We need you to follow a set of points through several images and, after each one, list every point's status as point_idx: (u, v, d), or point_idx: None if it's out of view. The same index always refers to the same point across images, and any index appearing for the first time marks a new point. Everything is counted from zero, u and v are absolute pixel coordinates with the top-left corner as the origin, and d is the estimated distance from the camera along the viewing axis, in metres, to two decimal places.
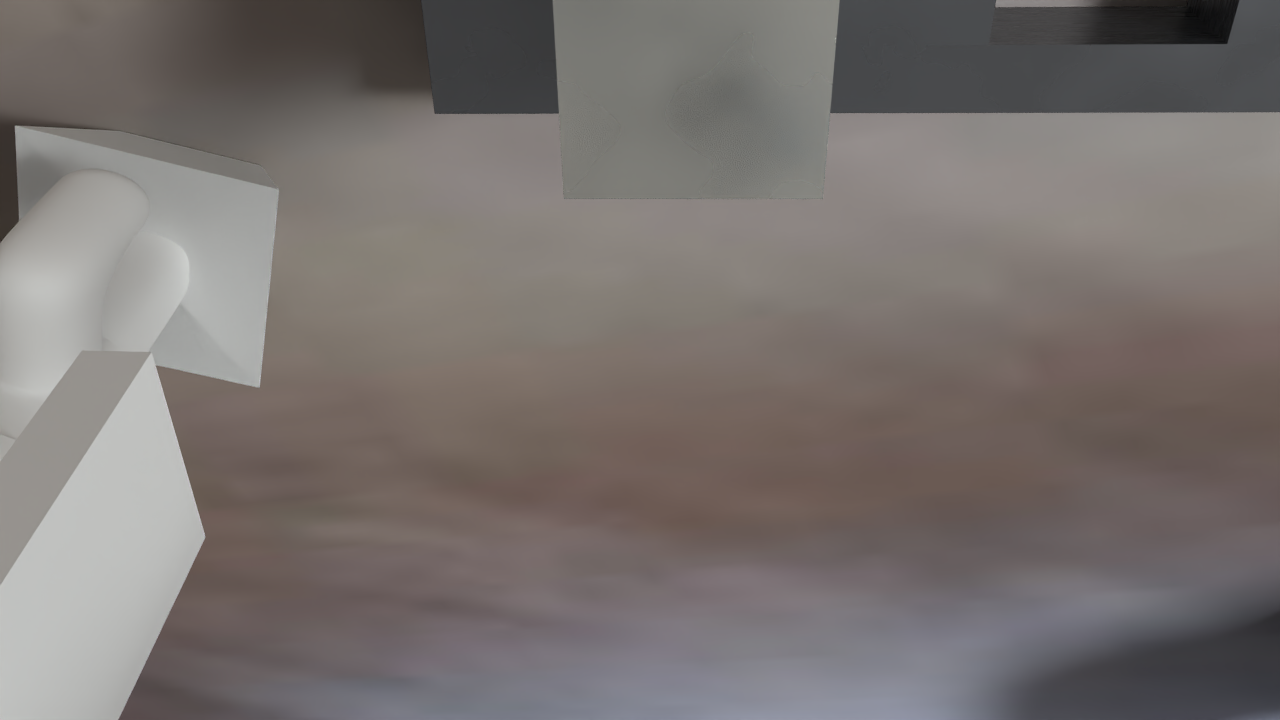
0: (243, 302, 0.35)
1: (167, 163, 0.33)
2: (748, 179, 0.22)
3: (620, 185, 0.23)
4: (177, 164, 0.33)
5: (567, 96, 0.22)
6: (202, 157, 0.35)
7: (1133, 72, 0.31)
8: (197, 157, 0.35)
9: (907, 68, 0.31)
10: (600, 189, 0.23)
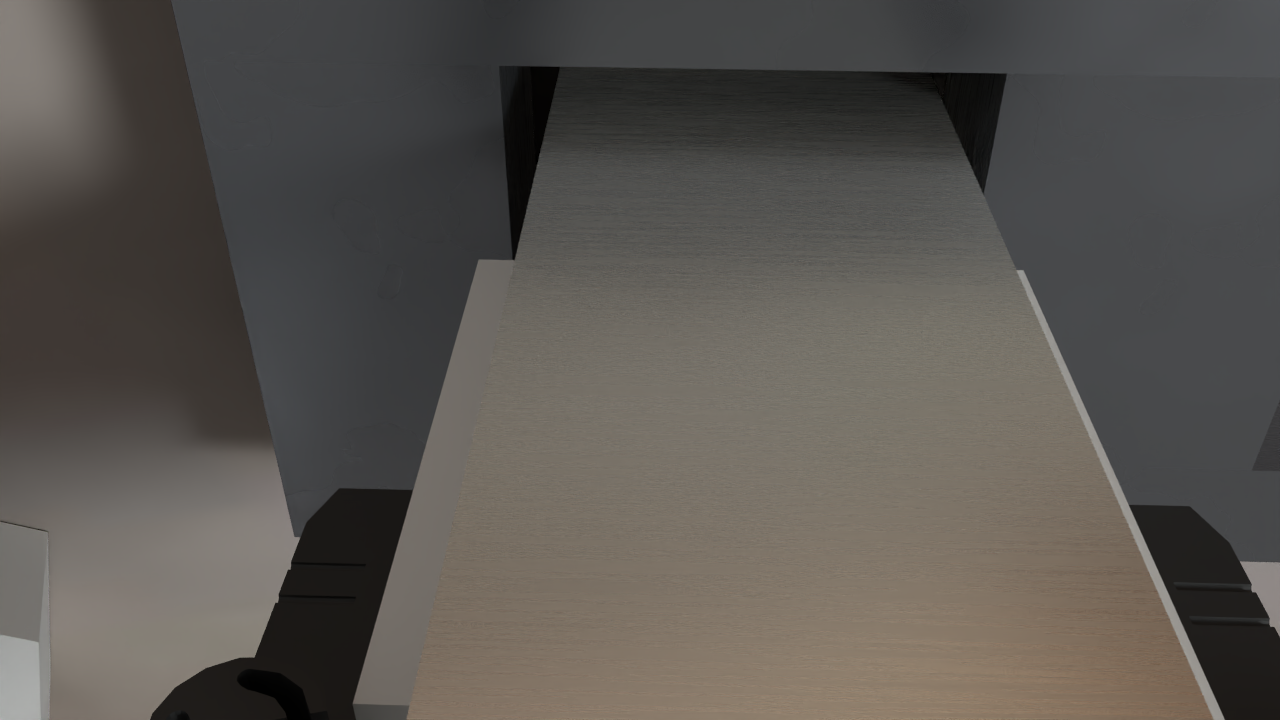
0: None
1: None
2: None
3: None
4: None
5: None
6: None
7: None
8: None
9: None
10: None
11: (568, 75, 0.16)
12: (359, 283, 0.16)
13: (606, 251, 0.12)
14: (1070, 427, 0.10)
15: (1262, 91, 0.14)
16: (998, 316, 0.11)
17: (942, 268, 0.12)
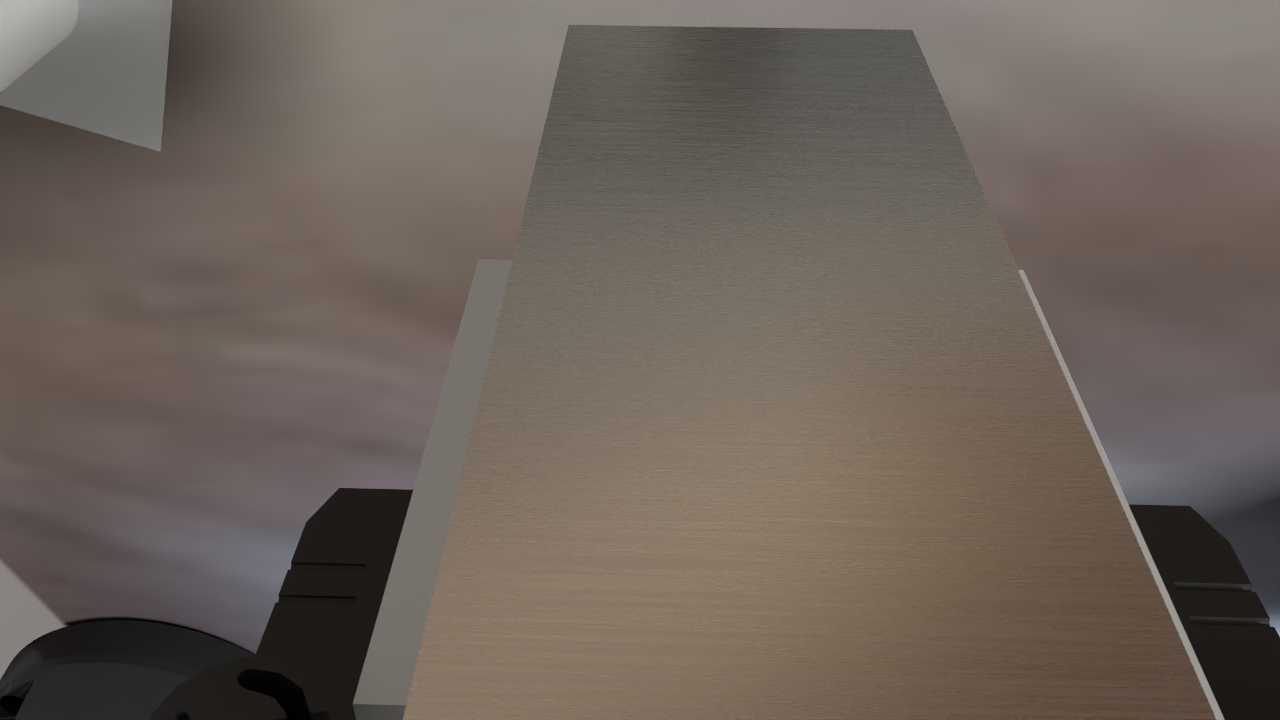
0: (141, 43, 0.31)
1: None
2: None
3: None
4: None
5: None
6: None
7: None
8: None
9: None
10: None
11: (567, 72, 0.16)
12: None
13: (605, 248, 0.12)
14: (1070, 423, 0.10)
15: None
16: (998, 312, 0.11)
17: (943, 264, 0.12)
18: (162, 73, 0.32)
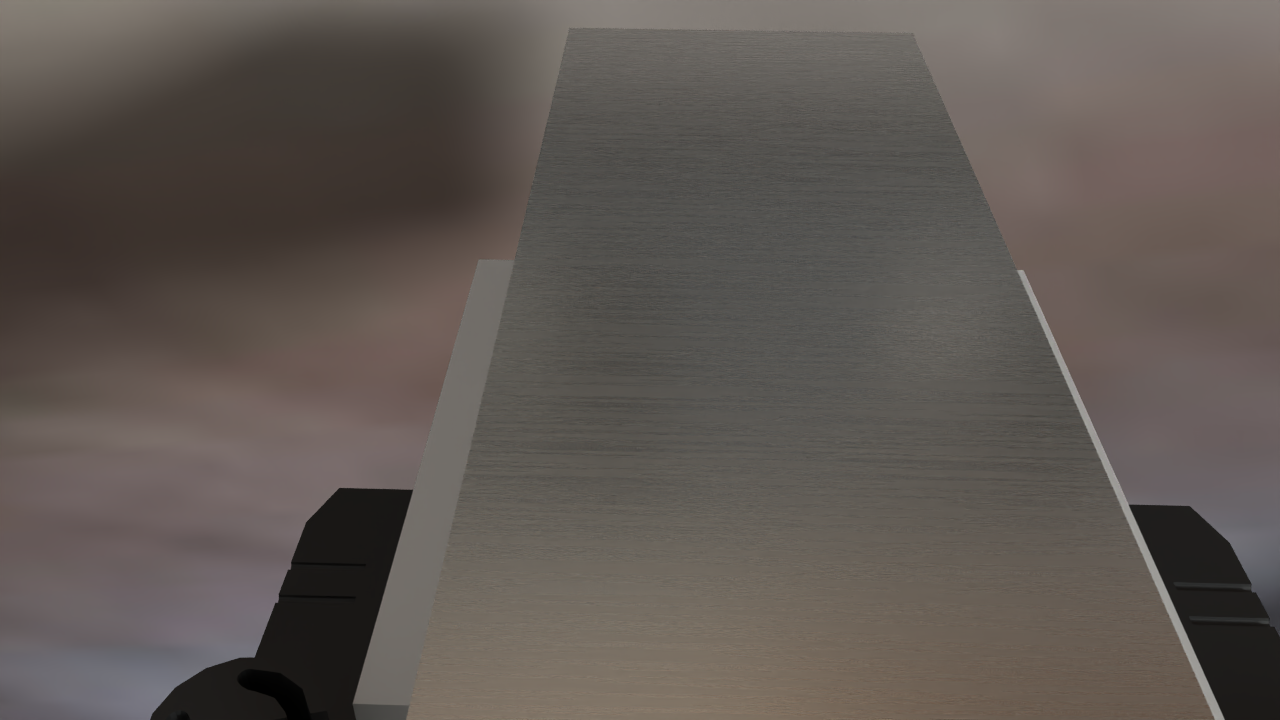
0: None
1: None
2: None
3: None
4: None
5: None
6: None
7: None
8: None
9: None
10: None
11: (568, 75, 0.16)
12: None
13: (606, 252, 0.12)
14: (1071, 427, 0.10)
15: None
16: (999, 316, 0.11)
17: (944, 269, 0.12)
18: None
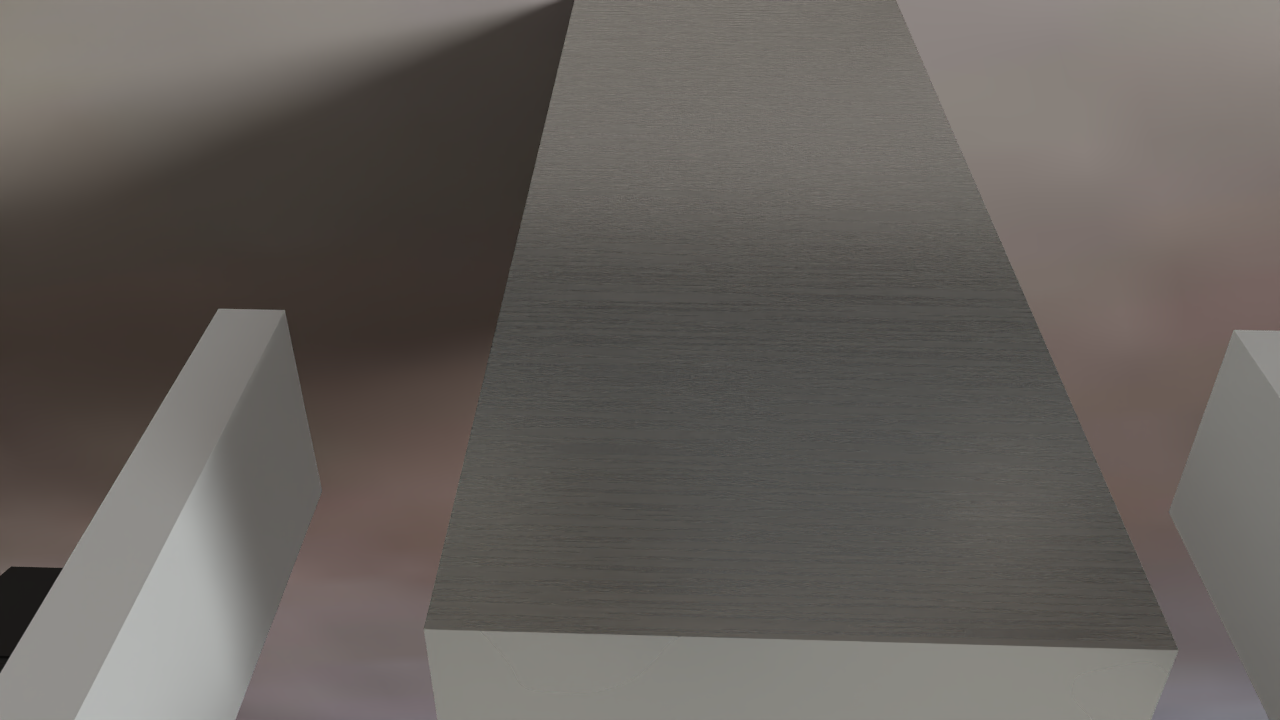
0: None
1: None
2: None
3: None
4: None
5: None
6: None
7: None
8: None
9: None
10: None
11: (575, 36, 0.17)
12: None
13: (611, 185, 0.13)
14: (1024, 325, 0.11)
15: None
16: (964, 237, 0.12)
17: (916, 198, 0.13)
18: None
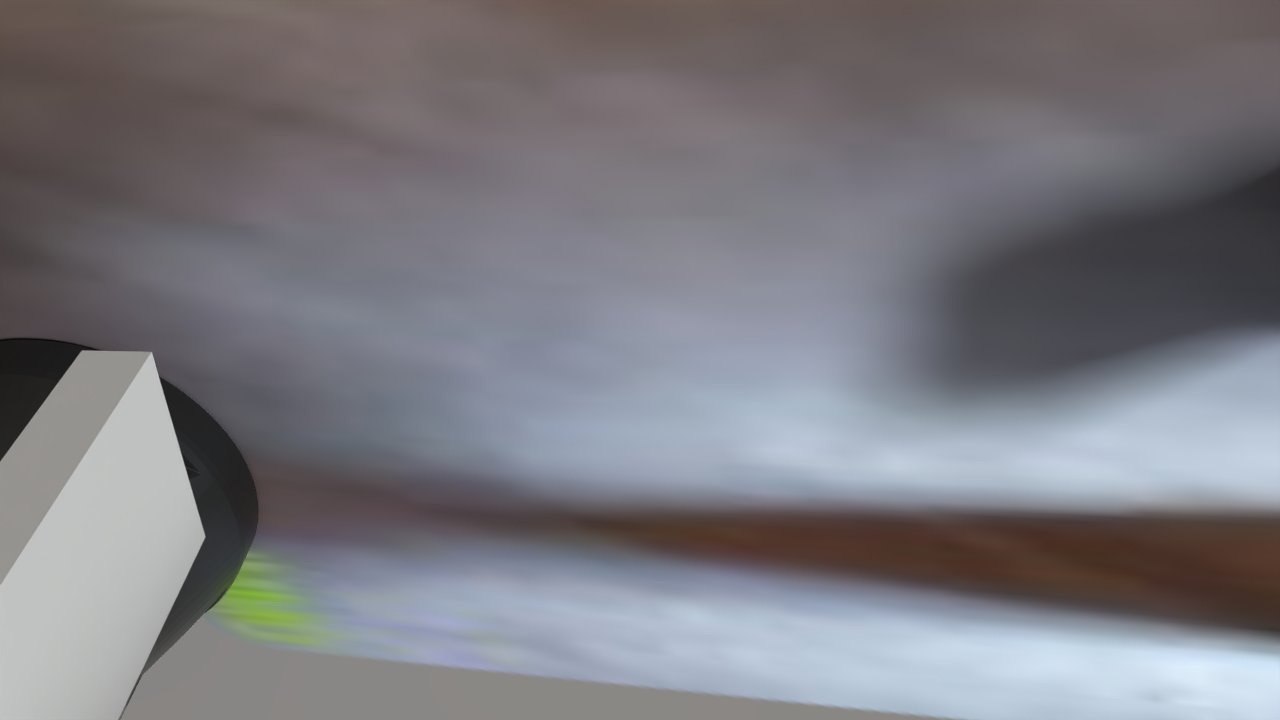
0: None
1: None
2: None
3: None
4: None
5: None
6: None
7: None
8: None
9: None
10: None
11: None
12: None
13: None
14: None
15: None
16: None
17: None
18: None
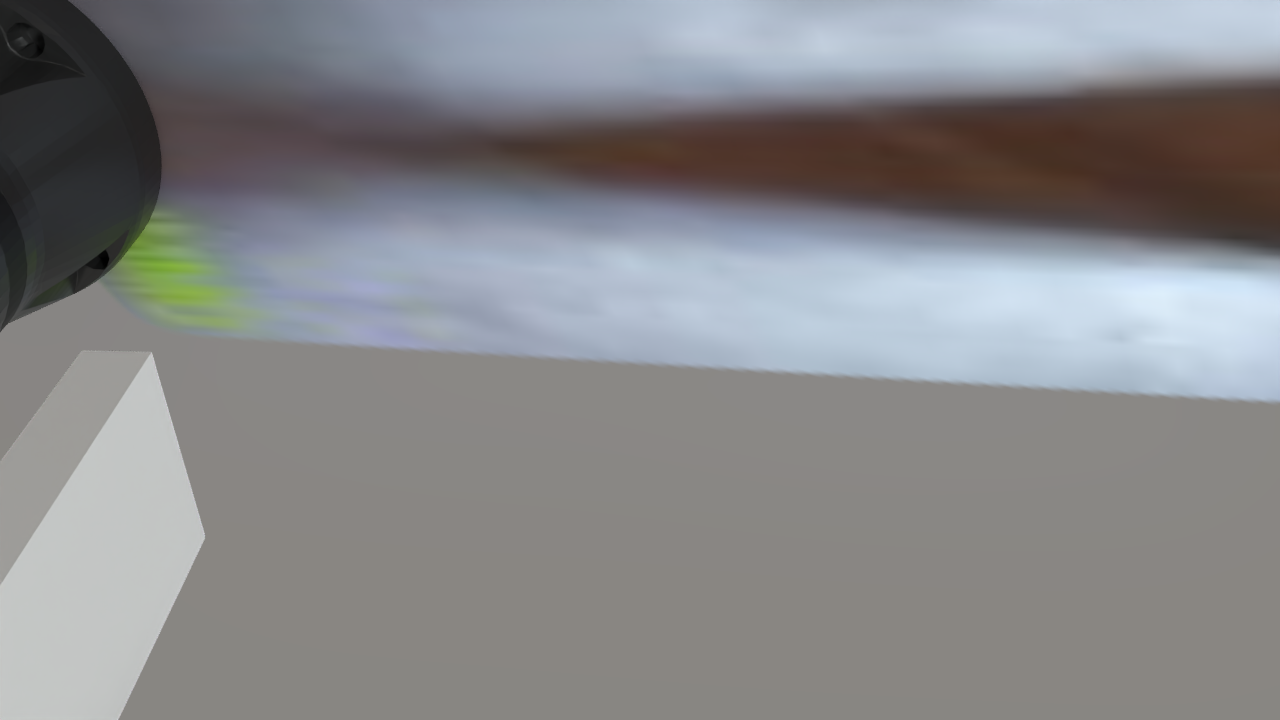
0: None
1: None
2: None
3: None
4: None
5: None
6: None
7: None
8: None
9: None
10: None
11: None
12: None
13: None
14: None
15: None
16: None
17: None
18: None
